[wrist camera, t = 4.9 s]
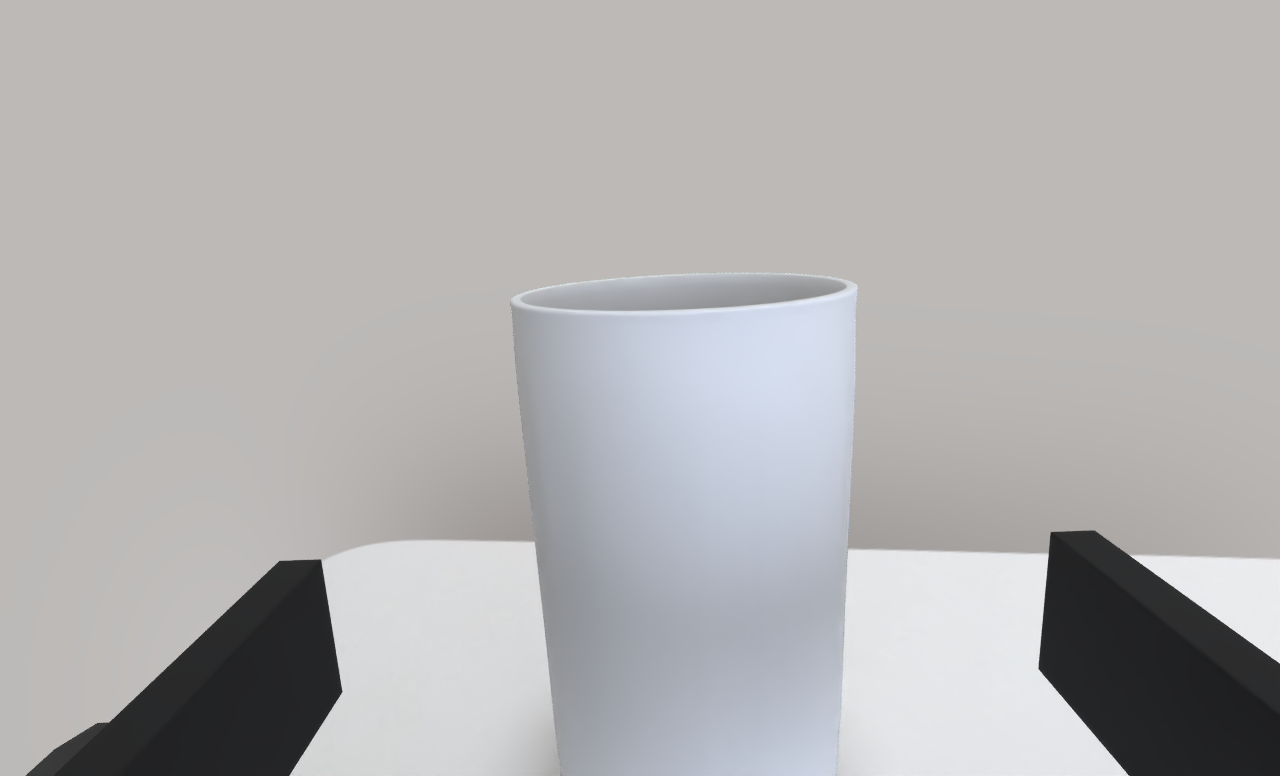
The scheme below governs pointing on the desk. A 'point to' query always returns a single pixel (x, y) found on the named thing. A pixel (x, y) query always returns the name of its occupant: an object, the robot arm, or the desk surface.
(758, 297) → the mug
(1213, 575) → the desk surface
